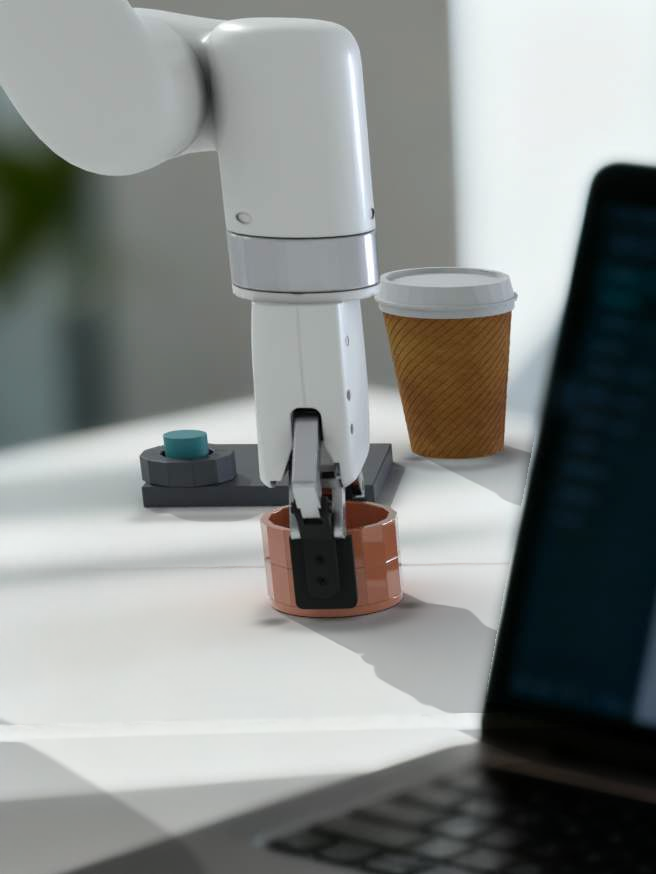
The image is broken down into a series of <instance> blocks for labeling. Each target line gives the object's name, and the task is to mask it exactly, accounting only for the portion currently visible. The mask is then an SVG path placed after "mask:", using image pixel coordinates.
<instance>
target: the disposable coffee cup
mask: <svg viewBox="0 0 656 874" xmlns="http://www.w3.org/2000/svg"><path fill="white" fill-rule="evenodd" d="M380 282H381V292H380V293H379V294H378V295H376V296H373V297H374V301H375V302H376V303H377V304H378V309H379V310H380V311H381V312H382V317H383V321H384V326H385V331H386V335H387V340H388V344H389V350H390V354H391V359H392V363H393V368H394V373H395V378H396V382H397V388H398V393H399V397H400V402H401V405H402V413H403V416H404V420H405V424H406V430H407V435H408V439H409V444H410V445H409V446H410V450H411V452H412V453H414V454H416V455H418V456H422V457H425V458H426V457H427V458H433V459H445V460H447V459H448V460H450V459H451V460H459V459H474V458H481V457H487V456H492V455H496V454H498V453H500V452H502V451H503V450H504V448H505V435H506V434H505V433H506V416H507V412H506V411H507V399H508V382H509V370H510V369H509V364H510V352H511V351H510V349H511V331H512V317H513V310H514V309H515V306H516V305H515V303H516V301H518V297H519V294H518V293H517V292H516V291H514V288H513V285H512V281H511V278H510V275H509V274H507V273H504V272H502V271H498V270H494V269H488V268H478V267H464V266H462V267H461V266H429V267H427V266H426V267H413V268H403V269H398V270H397V269H396V270H393V271H387V272H385V273H383V274H380Z"/></svg>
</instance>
